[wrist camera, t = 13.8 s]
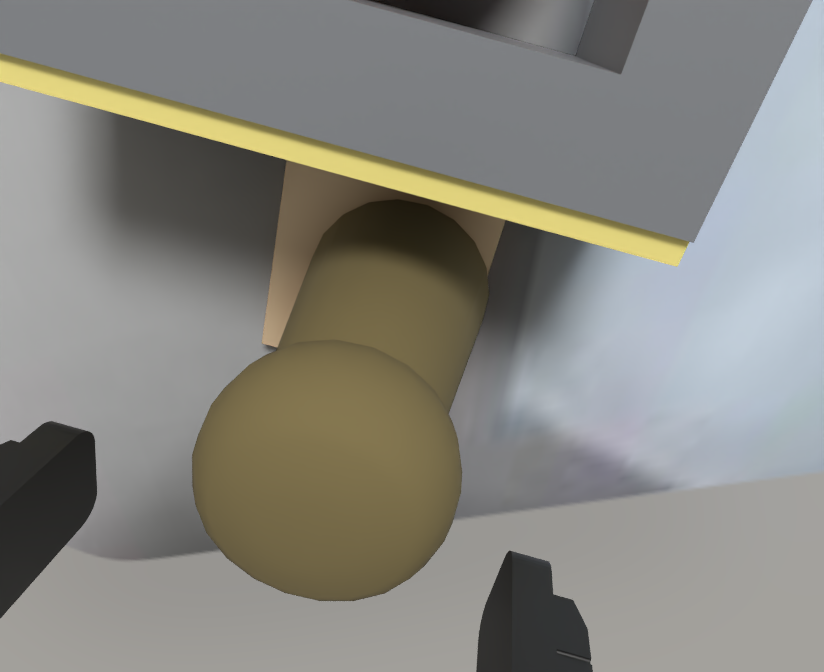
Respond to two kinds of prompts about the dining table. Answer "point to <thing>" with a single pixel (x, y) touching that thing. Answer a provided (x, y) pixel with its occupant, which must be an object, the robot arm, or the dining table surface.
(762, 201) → the dining table surface
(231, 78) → the box
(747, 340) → the dining table surface
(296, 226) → the cork coaster
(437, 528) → the olive brown knobbed peg
